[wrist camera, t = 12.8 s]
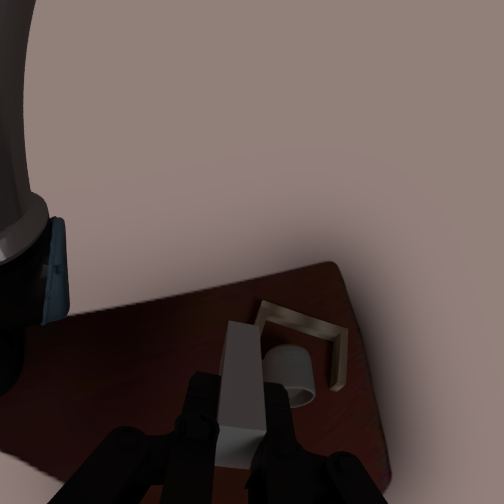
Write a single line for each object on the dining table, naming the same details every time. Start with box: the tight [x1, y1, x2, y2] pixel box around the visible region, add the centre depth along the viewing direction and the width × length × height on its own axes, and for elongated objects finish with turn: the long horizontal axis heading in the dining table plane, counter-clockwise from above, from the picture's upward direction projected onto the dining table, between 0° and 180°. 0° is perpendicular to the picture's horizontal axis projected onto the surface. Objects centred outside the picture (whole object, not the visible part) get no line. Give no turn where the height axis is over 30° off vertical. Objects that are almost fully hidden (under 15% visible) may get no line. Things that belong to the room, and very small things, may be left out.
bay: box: [254, 300, 348, 391], centre depth 45 cm, size 17×12×3 cm
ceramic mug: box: [261, 344, 315, 408], centre depth 38 cm, size 11×8×8 cm
